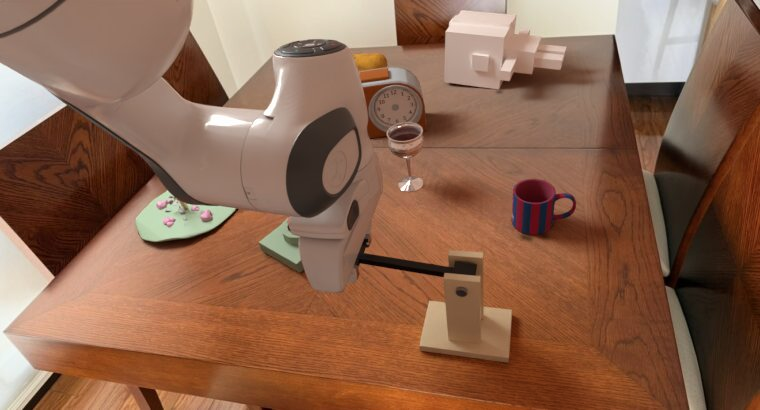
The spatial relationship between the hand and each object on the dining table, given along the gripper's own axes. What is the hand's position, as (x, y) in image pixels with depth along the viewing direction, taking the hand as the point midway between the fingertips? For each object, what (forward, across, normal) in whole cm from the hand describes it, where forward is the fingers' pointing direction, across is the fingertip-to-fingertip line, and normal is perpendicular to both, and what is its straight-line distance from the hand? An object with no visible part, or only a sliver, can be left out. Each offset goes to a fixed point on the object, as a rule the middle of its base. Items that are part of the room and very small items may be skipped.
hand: (358, 261), depth 66 cm
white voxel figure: (+13, -79, +14) cm, 82 cm away
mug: (+13, -24, +24) cm, 36 cm away
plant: (+13, -23, -45) cm, 52 cm away
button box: (+13, -15, -17) cm, 26 cm away
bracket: (+13, 0, +14) cm, 19 cm away
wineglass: (+13, -33, -1) cm, 36 cm away
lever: (+1, 0, +7) cm, 7 cm away
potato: (+13, -79, -23) cm, 83 cm away
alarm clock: (+13, -55, -9) cm, 57 cm away
